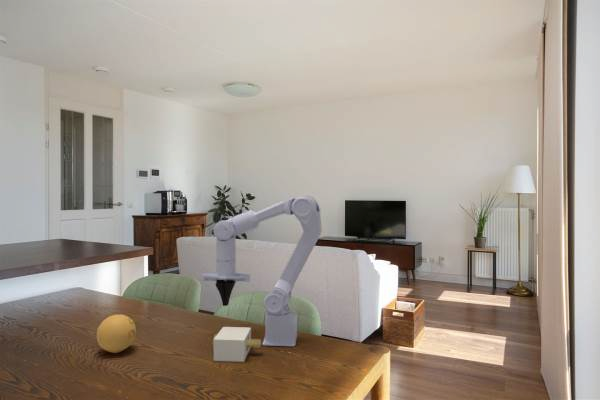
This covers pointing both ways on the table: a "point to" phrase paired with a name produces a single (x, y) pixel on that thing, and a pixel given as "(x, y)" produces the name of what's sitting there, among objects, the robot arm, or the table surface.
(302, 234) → the robot arm
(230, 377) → the table surface
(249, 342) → the pin
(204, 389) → the table surface
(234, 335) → the block
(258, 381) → the table surface
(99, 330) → the stress ball
